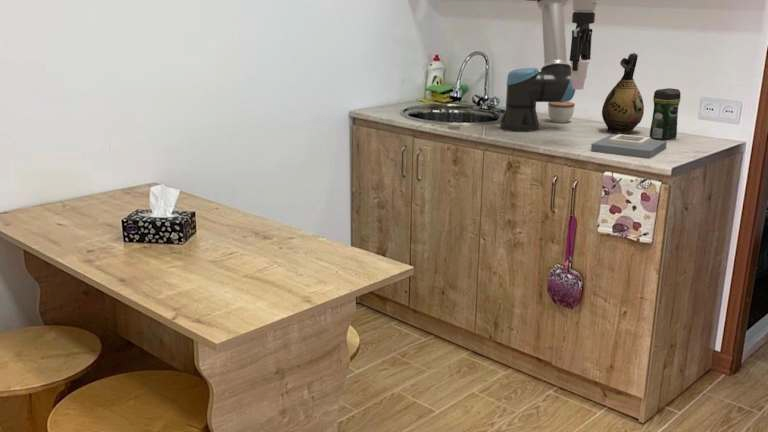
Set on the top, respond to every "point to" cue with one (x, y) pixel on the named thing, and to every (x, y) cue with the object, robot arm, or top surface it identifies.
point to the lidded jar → (560, 111)
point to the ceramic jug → (624, 101)
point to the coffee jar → (665, 114)
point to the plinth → (629, 145)
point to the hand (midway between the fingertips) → (578, 79)
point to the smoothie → (580, 75)
